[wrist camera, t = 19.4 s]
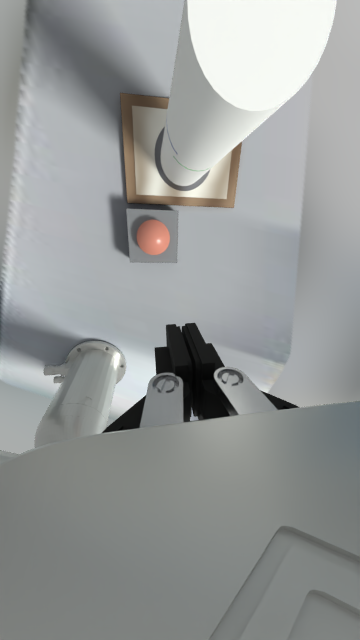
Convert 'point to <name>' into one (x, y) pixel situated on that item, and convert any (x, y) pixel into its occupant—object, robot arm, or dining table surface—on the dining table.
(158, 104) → the sketch board
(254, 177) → the dining table surface
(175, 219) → the button housing
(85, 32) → the dining table surface
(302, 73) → the cylindrical container
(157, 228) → the button
